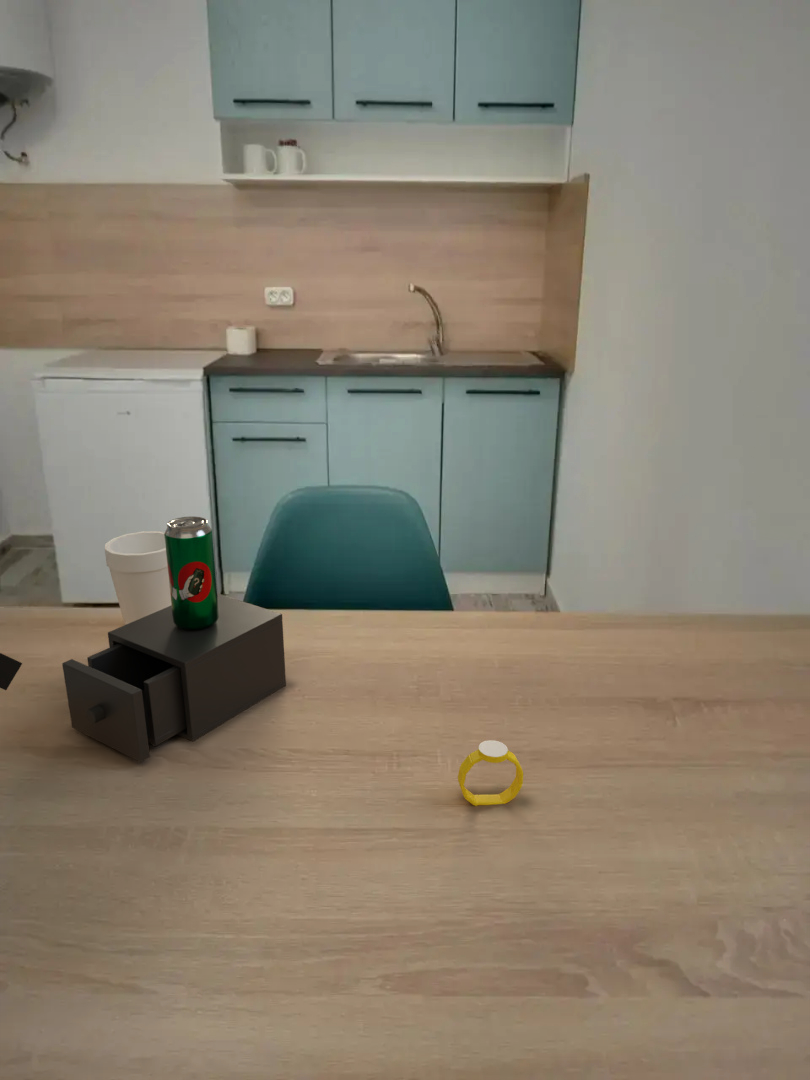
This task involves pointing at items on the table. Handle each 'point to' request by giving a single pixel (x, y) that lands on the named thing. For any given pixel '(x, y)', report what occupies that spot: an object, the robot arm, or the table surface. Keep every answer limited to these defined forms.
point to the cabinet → (215, 659)
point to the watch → (493, 754)
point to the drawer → (125, 699)
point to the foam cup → (139, 573)
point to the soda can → (191, 573)
